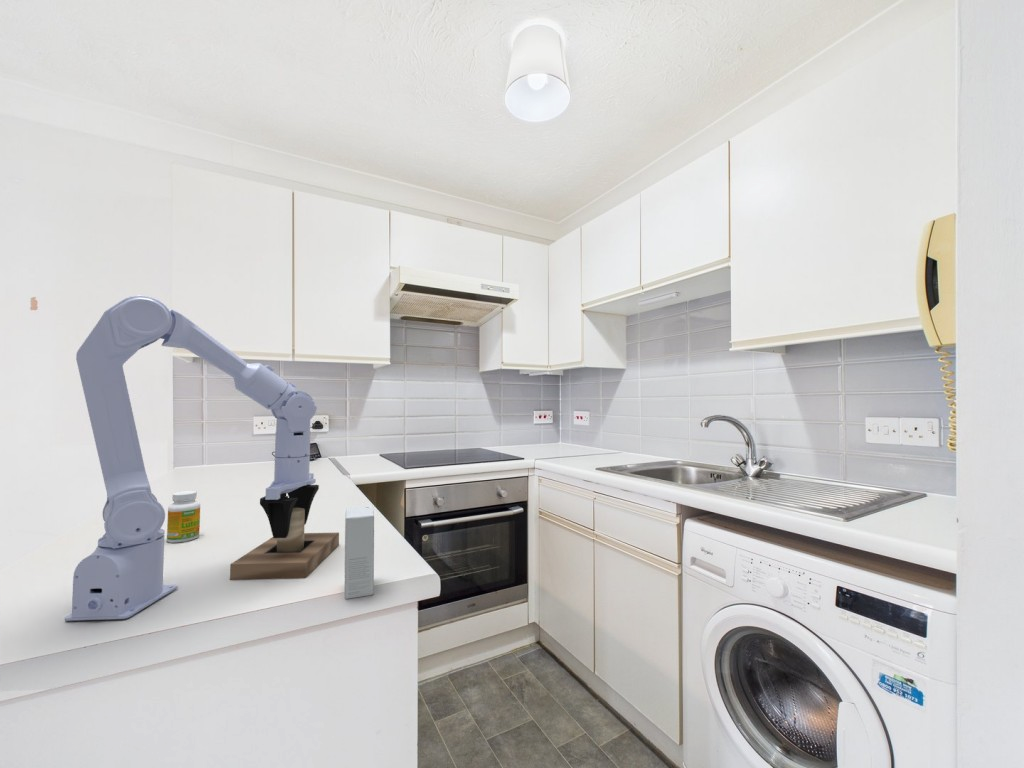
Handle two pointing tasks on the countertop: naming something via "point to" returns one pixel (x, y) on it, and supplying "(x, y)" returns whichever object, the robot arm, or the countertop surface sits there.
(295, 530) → the birch peg
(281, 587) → the countertop surface
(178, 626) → the countertop surface
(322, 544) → the socket block
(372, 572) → the skincare box
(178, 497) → the supplement bottle
